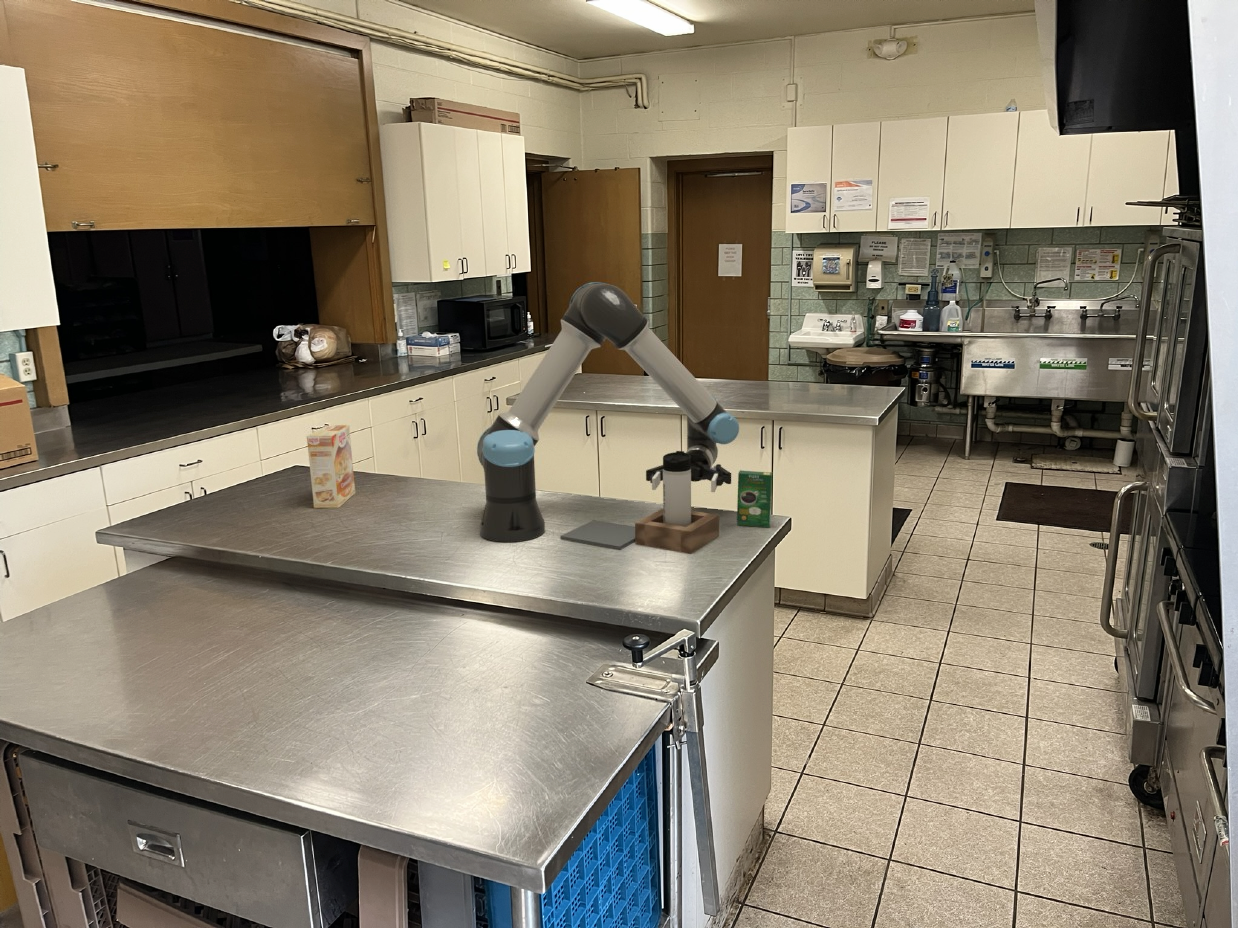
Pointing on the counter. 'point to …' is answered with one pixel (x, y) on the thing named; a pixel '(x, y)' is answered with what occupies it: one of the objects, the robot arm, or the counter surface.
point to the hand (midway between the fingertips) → (682, 485)
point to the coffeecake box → (331, 466)
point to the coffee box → (754, 498)
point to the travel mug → (677, 489)
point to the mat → (602, 534)
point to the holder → (677, 532)
